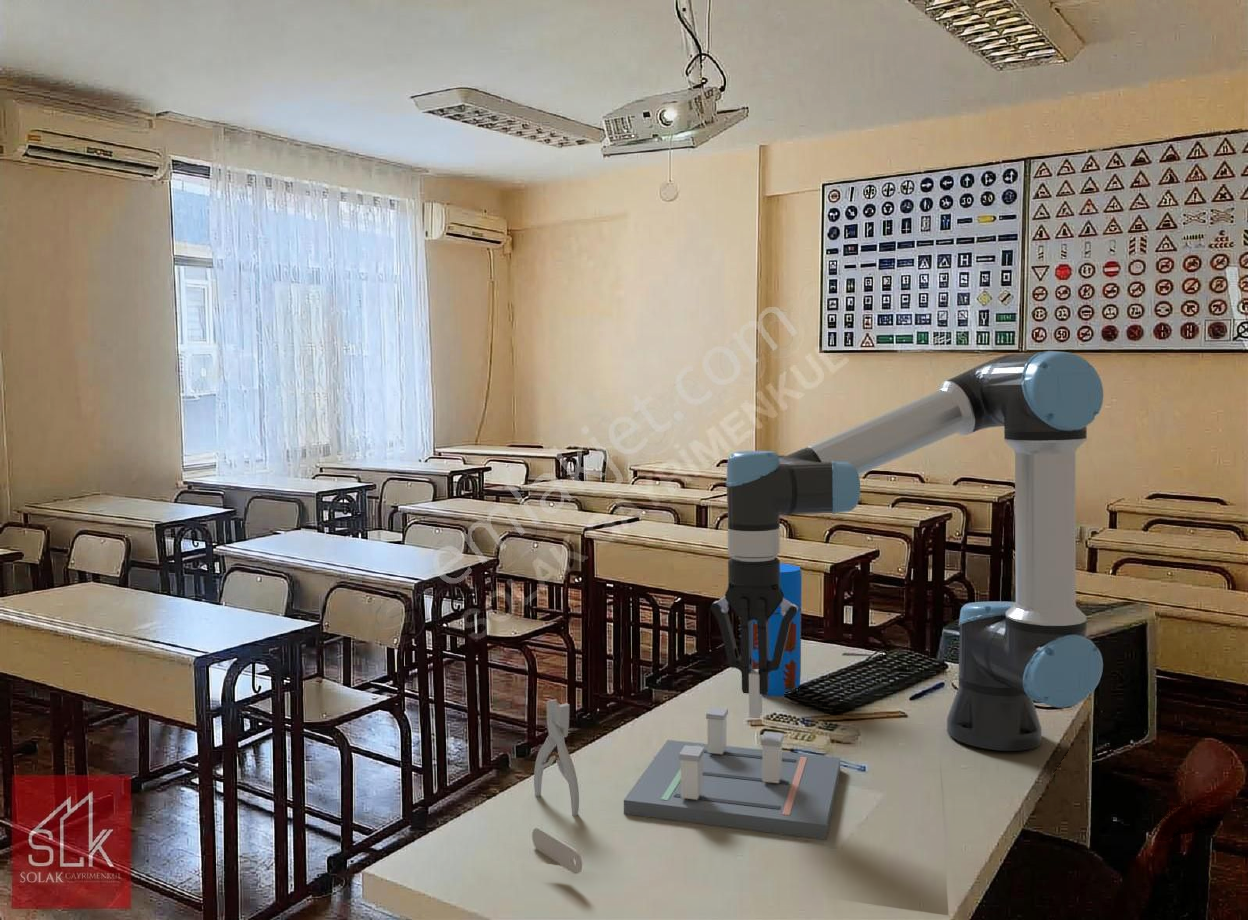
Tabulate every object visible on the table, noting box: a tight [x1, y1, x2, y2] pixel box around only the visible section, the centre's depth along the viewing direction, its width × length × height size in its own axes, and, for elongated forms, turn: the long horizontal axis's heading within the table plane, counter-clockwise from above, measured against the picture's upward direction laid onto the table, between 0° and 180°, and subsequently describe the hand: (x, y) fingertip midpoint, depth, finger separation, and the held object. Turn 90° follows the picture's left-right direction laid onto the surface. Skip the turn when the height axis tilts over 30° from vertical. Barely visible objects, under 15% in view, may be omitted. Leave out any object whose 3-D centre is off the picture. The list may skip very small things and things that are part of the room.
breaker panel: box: [623, 739, 841, 840], centre depth 144 cm, size 28×25×2 cm
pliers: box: [533, 699, 580, 817], centre depth 139 cm, size 10×2×15 cm, turn 41°
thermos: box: [751, 563, 802, 697], centre depth 192 cm, size 11×11×25 cm
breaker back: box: [705, 706, 729, 754], centre depth 154 cm, size 3×4×6 cm
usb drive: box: [841, 650, 885, 657], centre depth 214 cm, size 5×12×3 cm, turn 85°
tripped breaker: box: [760, 731, 785, 783], centre depth 143 cm, size 3×4×6 cm
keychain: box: [531, 827, 583, 875], centre depth 123 cm, size 10×1×3 cm, turn 39°
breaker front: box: [679, 745, 704, 800], centre depth 137 cm, size 3×4×6 cm
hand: (755, 714), depth 143 cm, fingers closed
